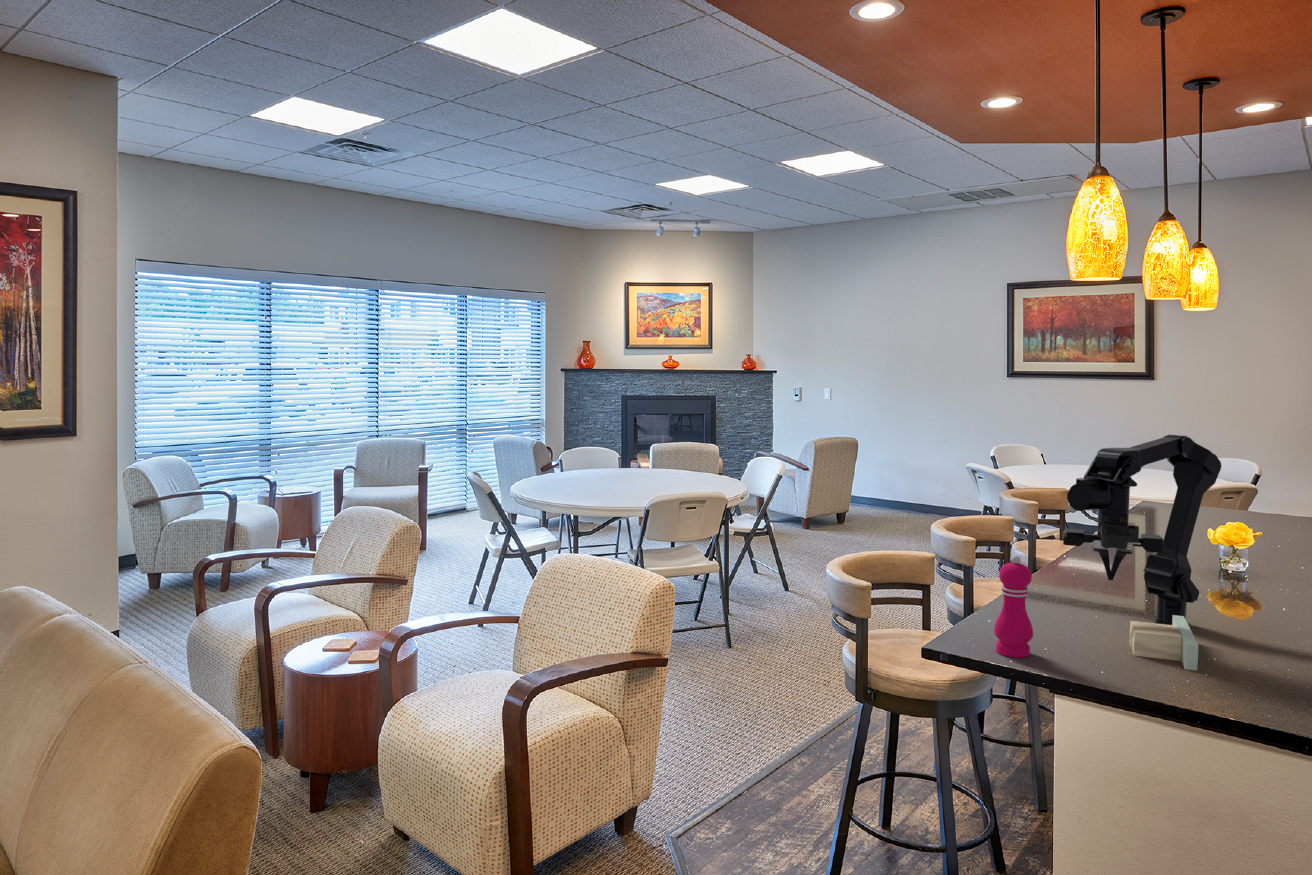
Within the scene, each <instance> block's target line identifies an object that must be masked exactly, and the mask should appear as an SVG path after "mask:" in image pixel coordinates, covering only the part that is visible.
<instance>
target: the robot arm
mask: <svg viewBox="0 0 1312 875" xmlns="http://www.w3.org/2000/svg"><path fill="white" fill-rule="evenodd" d="M1165 459H1167V462H1168V463H1169V464H1170V465H1171V466H1172V467H1173V470H1172V471H1173V472H1172V476H1173V479H1174V482H1175V484H1176V486H1177V487H1176V492H1175V493H1176V494H1175V495H1174V496H1175V497H1174V500H1173V503H1172V507H1171V512H1170V514H1169V518H1168V522H1167V526H1166V530H1165V533H1164V537H1162V536H1161V535H1160V534H1149V533H1147V534H1146V533H1140V527H1139V526H1138V525H1129V519H1130V518H1129V512H1130V494H1131V493H1130V490H1131V488H1132V487H1138V483H1137V482H1136V481H1135V480H1134V479H1133V478H1132V476H1134V475H1136V474H1138V473H1140V472H1141V471H1142V468H1143V467H1145V466H1147V465H1150V464H1154V463H1156V462H1159V461H1162V460H1165ZM1221 470H1222V462H1221V460H1220V459H1219V457H1218V456H1217V455H1216V454H1215V453H1213V452H1212V451H1211V450H1210V449H1207V448H1206V447H1204V446H1202V445H1201V444H1198V443H1196V442H1195V441H1194V440H1193V439H1192V438H1191V437H1189V436H1187V435H1177V434H1167V435H1165V436H1163V437H1160V438H1157V439H1154V440H1151V441H1147V442H1144V443H1140V444H1137V445H1133V446H1131V447H1130V446H1129V447H1104V448H1101V449H1099V450H1098V451H1097V453H1096V455H1095V456H1094V458H1093V460H1092V462H1091V463H1090V465H1089V467H1088V468H1087V471H1086V472H1085V473H1084V475H1083V477H1077V478H1076V479H1075V484H1073V485H1072V486H1070V487H1069V489H1068V492H1067V497H1066V498H1067V502H1068V504H1069V506H1070V507H1071V508H1072V509H1073V510H1075V511H1077V512H1085V511H1096V510H1097V531H1096V533H1097V534H1093V533H1085V532H1084V529H1082V528H1081V529H1078V528H1068V527H1067V528H1065V529H1064V530H1063V534H1062V537H1063V538H1062V544H1063V546H1072V547H1080V546H1082V545H1083V544H1084V543H1086V544H1088V543H1089V544H1091V548H1092V551H1094V552H1097V553H1098V554H1099V557H1100V558H1101V561H1102V562H1103V566H1104V569H1105V572H1106V573H1105V574H1106V575H1107V580H1108V581H1113V580H1114V579H1115V576H1116V573H1117V571H1118V569H1119V566H1120V564H1121V562H1122V561H1123V560H1124V558H1125V556H1127V555H1132V554H1133V549H1132V548H1133V547H1139V548H1143V549H1144V551H1145V552H1147V553H1150V554H1149V555H1148V556H1147V558H1146V564H1145V567H1144V568H1143V570H1142V571H1143V572H1144V573H1143V579H1144V584H1145V587H1146V588H1145V589H1146V591H1147V594H1150V595H1151V594H1152V595H1155V596H1156V612H1155V613H1156V614H1155V615H1152V620H1153V623H1156V624H1165V625H1172V620H1173V615H1177V616H1184V618H1185V620H1186V621H1187V608H1188V603H1190V604H1191V603H1192V604H1193V603H1194V602H1197V601H1198V599H1199V595H1200V590H1199V589H1198V588H1197V586H1196V585H1195V583H1194V582H1193V581H1192V580H1191V577H1192V567H1191V564H1190V561H1189V559H1188V552H1189V548H1190V544H1191V541H1192V538H1193V533H1194V530H1195V525H1196V523H1197V518H1198V515H1199V512H1200V509H1201V508H1200V507H1201V505H1202V500H1203V496H1204V494H1205V493H1206V492H1207V491H1208V490H1210V488H1211V487H1213V485H1215V484H1216V482H1217V479H1218V477H1219V474H1220V473H1221ZM1139 534H1140V535H1139ZM1110 548H1112V549H1113V554H1112V560H1111V563H1110V554H1109V549H1110ZM1151 553H1155V554H1151ZM1189 627H1190V625H1189Z"/></svg>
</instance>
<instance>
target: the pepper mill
mask: <svg viewBox="0 0 1312 875" xmlns="http://www.w3.org/2000/svg"><path fill="white" fill-rule="evenodd" d="M1010 561H1011V562H1007V563H1005V564H1003V565H1002V566H1001V567H1000V569H999V572H998V573H999V574H998V577H999V580H1000V582H1001V583H1002V584H1003V585H1002V586H1001V591H1000V593H1001V594H1003V603H1002V608H1001V611H1000V613H999V615H998V617H997V618H996V621H995V624H994V627H993V631H994V635H995V637H996V638H997V639H998V641H996V644H995V650H996V653H997V654H998V655H1002V656H1005V657H1009V658H1014V659H1015V658H1016V659H1017V658H1018V659H1021V658H1027V657H1029V656H1030V654H1031V653H1030V651H1031V646H1030V645H1029V642H1030V641H1032V639H1033V636H1034V628H1033V625H1032V622H1031V620H1030V618H1029V615H1028V613H1027V607H1026V600H1027V597H1028V596H1029V588H1028V586H1029V585H1030V583H1032V580H1033V579H1032V572H1031V570H1030V568H1029V567H1028V566H1026V565H1025V564H1023V563H1021V557H1020V556H1019V555H1012V556H1011V558H1010Z"/></svg>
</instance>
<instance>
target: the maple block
mask: <svg viewBox="0 0 1312 875" xmlns="http://www.w3.org/2000/svg"><path fill="white" fill-rule="evenodd" d="M1129 622H1130V623H1129V624H1130V626H1129V645H1130V649H1131V652H1132V655H1133V656H1137V657H1144V658H1152V659H1159V660H1170V661H1176V662H1182V661H1181V644H1182V637H1181V635H1180V633H1179V631H1178V629H1177V628H1176V626H1174V625H1165V624H1156V623H1154V622H1145V621H1134V620H1130V621H1129Z"/></svg>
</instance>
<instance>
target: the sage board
mask: <svg viewBox="0 0 1312 875" xmlns="http://www.w3.org/2000/svg"><path fill="white" fill-rule="evenodd" d="M1172 625H1174V626H1176V628H1177V629H1178V631H1179V633H1180V635H1181V637H1182V644H1181V661H1180V662H1181V664H1182V666H1183V668H1184V670H1189V671H1196V672H1197V671H1198V663H1199V662H1198V660H1199V643H1198V642H1197V639H1196V638H1195V635H1194V633H1193V632H1192V630H1191V628H1190V627H1189V626H1190V625H1189V622H1188V620H1187V619H1186V620H1185V618H1184V616H1177V615H1173V620H1172Z"/></svg>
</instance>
